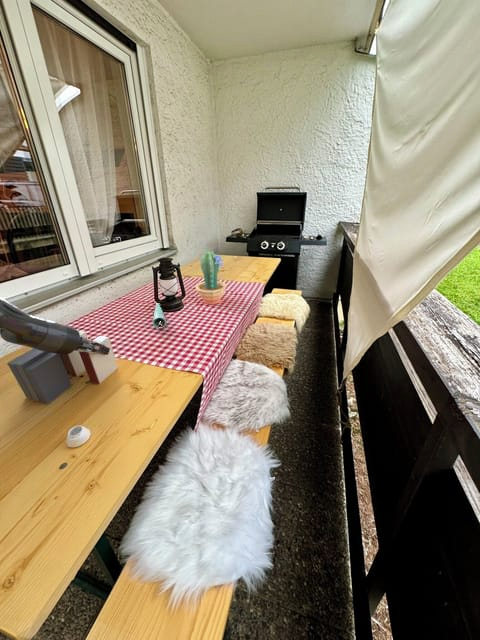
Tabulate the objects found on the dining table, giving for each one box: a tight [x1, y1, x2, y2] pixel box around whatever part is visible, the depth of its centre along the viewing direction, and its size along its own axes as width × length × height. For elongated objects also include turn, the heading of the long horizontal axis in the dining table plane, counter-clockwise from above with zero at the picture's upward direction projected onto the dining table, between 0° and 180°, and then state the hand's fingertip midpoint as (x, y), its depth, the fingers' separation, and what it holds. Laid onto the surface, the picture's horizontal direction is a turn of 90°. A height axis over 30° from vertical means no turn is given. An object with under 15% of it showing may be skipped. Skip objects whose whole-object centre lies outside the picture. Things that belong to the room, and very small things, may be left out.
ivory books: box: [59, 330, 90, 378], centre depth 83 cm, size 6×8×12 cm, turn 162°
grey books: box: [7, 348, 73, 405], centre depth 73 cm, size 8×8×13 cm
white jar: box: [65, 424, 92, 448], centre depth 61 cm, size 5×3×5 cm
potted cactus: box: [195, 250, 227, 305], centre depth 126 cm, size 15×15×25 cm
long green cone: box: [152, 302, 167, 330], centre depth 118 cm, size 5×6×27 cm
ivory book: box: [79, 335, 119, 385], centre depth 80 cm, size 3×8×12 cm, turn 162°
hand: (102, 350), depth 81 cm, fingers closed on ivory book, 3 cm apart
